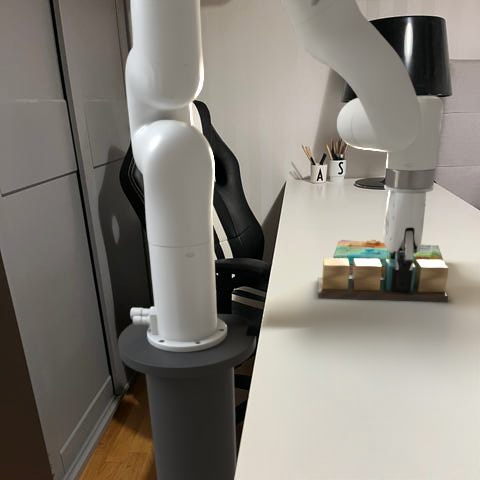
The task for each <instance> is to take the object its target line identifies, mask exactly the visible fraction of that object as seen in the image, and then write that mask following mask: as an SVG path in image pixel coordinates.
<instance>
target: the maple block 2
mask: <svg viewBox="0 0 480 480" xmlns="http://www.w3.org/2000/svg"><path fill="white" fill-rule="evenodd" d="M381 272H382V265H381V263H380V261H379V259H354V261H353V274H351V275H352V277H351V279H352V284H353V288H354V290H377V291H379V290H380V282H381V279H382V276H381Z"/></svg>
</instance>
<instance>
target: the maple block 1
mask: <svg viewBox="0 0 480 480" xmlns="http://www.w3.org/2000/svg"><path fill="white" fill-rule="evenodd" d="M349 267H350V266H349V261H348V258H333V257H323V258H322V273H321V278H322V289H340V290H348V281H349V279H350V274H349Z"/></svg>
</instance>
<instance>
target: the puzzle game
mask: <svg viewBox="0 0 480 480" xmlns="http://www.w3.org/2000/svg"><path fill="white" fill-rule="evenodd" d="M389 253H390V252H389V251H388V250H387V248H386V246H385V244H384V242H383V241H380V240H376V239H371V240H351V239H350V240H349V239H342V240H338V242H337V245H336V248H335V251H334V254H333V257H332V258H348V261H349V266H350V267H349V275H353V261H354V259H379V261H380V263H381V265H382V272H381V277H384V271H385V261H386V259H389ZM416 260H443V262H444V263H445V261H444V258H443V254H442V252H441V250H440V247H439V244H438V245H437V244H436V245H435V244H422V243H421V246H420V250H419V251H418V252H417V253H414V258H413V263H414V265H415V267H416Z"/></svg>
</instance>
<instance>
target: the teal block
mask: <svg viewBox="0 0 480 480" xmlns="http://www.w3.org/2000/svg"><path fill="white" fill-rule="evenodd" d="M399 262H400V260H399ZM393 269H395V259H386V261H385V271H384V276H383V279H384V281H383V282H384V285H385V288H386V290H387V291H391V280H392V270H393ZM415 270H416V267H415V265H414V263H413V273H412V281H411V290H410V291H413V286H414V278H415Z"/></svg>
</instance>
